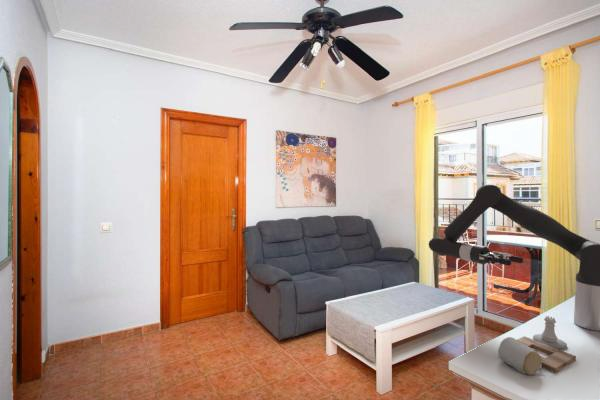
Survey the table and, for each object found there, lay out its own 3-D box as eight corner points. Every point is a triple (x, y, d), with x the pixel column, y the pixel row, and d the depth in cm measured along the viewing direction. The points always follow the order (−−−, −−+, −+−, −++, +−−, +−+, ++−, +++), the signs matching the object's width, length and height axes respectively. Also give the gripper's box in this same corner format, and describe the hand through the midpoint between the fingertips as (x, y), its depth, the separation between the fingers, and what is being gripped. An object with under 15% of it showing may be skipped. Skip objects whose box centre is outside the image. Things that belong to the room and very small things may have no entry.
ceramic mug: (524, 379, 82) (526, 352, 82) (496, 362, 90) (498, 337, 90) (550, 373, 86) (551, 346, 85) (521, 357, 93) (522, 333, 93)
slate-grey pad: (540, 334, 109) (540, 332, 109) (571, 345, 101) (571, 343, 101) (528, 339, 105) (528, 337, 105) (559, 352, 97) (560, 349, 97)
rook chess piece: (538, 338, 104) (539, 316, 104) (545, 336, 106) (546, 314, 106) (553, 344, 100) (554, 321, 100) (560, 342, 102) (561, 319, 102)
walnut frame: (524, 340, 104) (524, 336, 104) (575, 360, 92) (576, 356, 92) (502, 349, 98) (502, 345, 98) (555, 372, 85) (555, 368, 85)
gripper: (464, 245, 122) (507, 253, 108) (484, 243, 129) (526, 250, 115) (463, 263, 123) (506, 273, 108) (483, 260, 129) (526, 269, 115)
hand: (516, 261), depth 112 cm, fingers open, 8 cm apart
